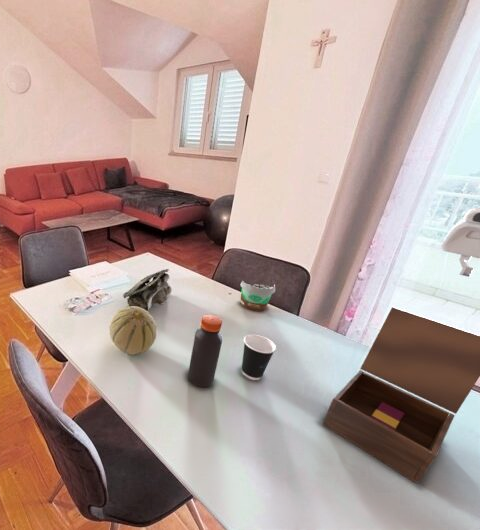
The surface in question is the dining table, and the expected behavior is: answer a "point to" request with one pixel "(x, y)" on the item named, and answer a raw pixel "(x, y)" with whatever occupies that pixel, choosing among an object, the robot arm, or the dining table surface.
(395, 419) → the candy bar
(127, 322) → the cantaloupe
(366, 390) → the chest
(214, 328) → the bottle
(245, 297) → the food container
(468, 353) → the lid
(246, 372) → the dixie cup
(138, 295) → the hollow geode rock
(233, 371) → the dining table surface
